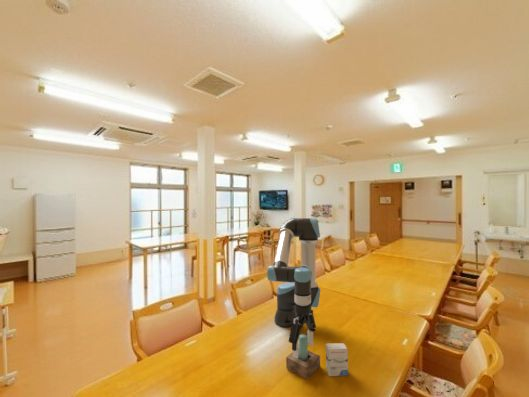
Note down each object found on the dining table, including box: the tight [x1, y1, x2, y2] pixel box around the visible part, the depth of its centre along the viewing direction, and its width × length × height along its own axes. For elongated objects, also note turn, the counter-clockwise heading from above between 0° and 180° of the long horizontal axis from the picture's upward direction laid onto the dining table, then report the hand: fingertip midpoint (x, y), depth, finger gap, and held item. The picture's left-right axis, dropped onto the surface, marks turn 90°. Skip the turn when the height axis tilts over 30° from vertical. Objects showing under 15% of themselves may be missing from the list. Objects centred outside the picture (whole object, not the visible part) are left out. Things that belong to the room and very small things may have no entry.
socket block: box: [285, 347, 321, 380], centre depth 116 cm, size 11×11×5 cm
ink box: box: [325, 342, 349, 377], centre depth 113 cm, size 8×5×12 cm, turn 92°
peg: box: [298, 334, 309, 362], centre depth 116 cm, size 4×4×14 cm
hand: (303, 350), depth 116 cm, fingers open, 11 cm apart
